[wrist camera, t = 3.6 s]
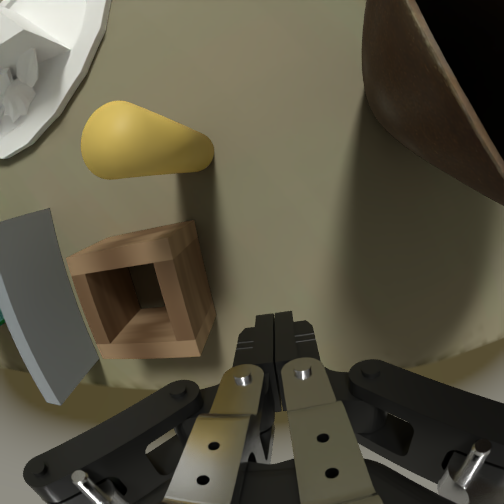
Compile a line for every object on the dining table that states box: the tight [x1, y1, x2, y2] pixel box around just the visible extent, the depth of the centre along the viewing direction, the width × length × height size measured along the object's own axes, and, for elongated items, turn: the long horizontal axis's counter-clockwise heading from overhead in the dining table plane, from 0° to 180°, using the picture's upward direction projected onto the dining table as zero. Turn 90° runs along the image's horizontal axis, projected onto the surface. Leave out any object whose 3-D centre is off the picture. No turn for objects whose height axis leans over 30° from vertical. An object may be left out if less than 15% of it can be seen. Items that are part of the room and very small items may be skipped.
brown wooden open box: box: [66, 220, 216, 359], centre depth 21 cm, size 8×8×6 cm
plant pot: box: [362, 0, 504, 206], centre depth 11 cm, size 15×15×16 cm
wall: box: [0, 208, 99, 405], centre depth 21 cm, size 2×16×8 cm, turn 10°
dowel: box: [81, 101, 214, 180], centre depth 15 cm, size 3×3×12 cm
